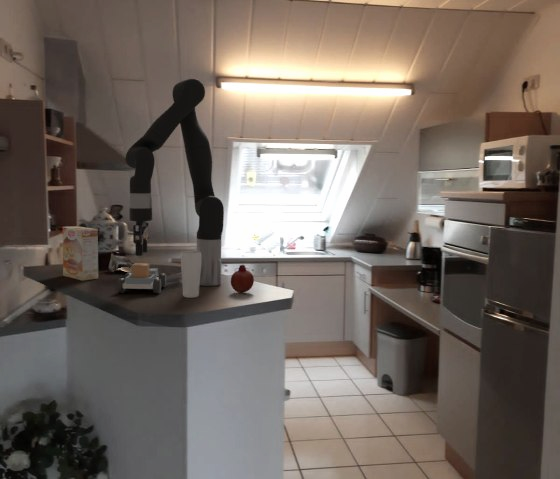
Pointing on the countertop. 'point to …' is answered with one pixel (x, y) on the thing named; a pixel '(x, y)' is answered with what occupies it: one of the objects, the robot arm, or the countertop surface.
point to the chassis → (142, 282)
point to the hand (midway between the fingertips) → (141, 253)
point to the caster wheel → (119, 262)
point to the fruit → (242, 280)
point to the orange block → (141, 270)
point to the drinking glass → (191, 273)
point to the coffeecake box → (80, 253)
